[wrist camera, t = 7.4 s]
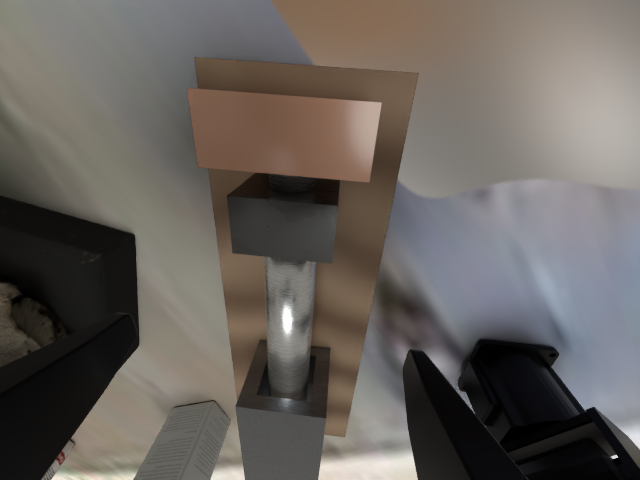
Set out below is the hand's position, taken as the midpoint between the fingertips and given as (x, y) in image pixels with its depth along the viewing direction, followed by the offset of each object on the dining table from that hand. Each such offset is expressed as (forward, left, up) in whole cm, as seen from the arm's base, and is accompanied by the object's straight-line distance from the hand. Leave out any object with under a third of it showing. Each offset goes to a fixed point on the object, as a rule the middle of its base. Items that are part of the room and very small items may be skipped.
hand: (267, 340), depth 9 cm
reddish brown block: (+1, -6, -11) cm, 12 cm away
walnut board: (+1, +9, -12) cm, 15 cm away
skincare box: (+12, +27, -12) cm, 32 cm away
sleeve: (+1, +18, -12) cm, 22 cm away
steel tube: (+1, +5, -10) cm, 12 cm away
